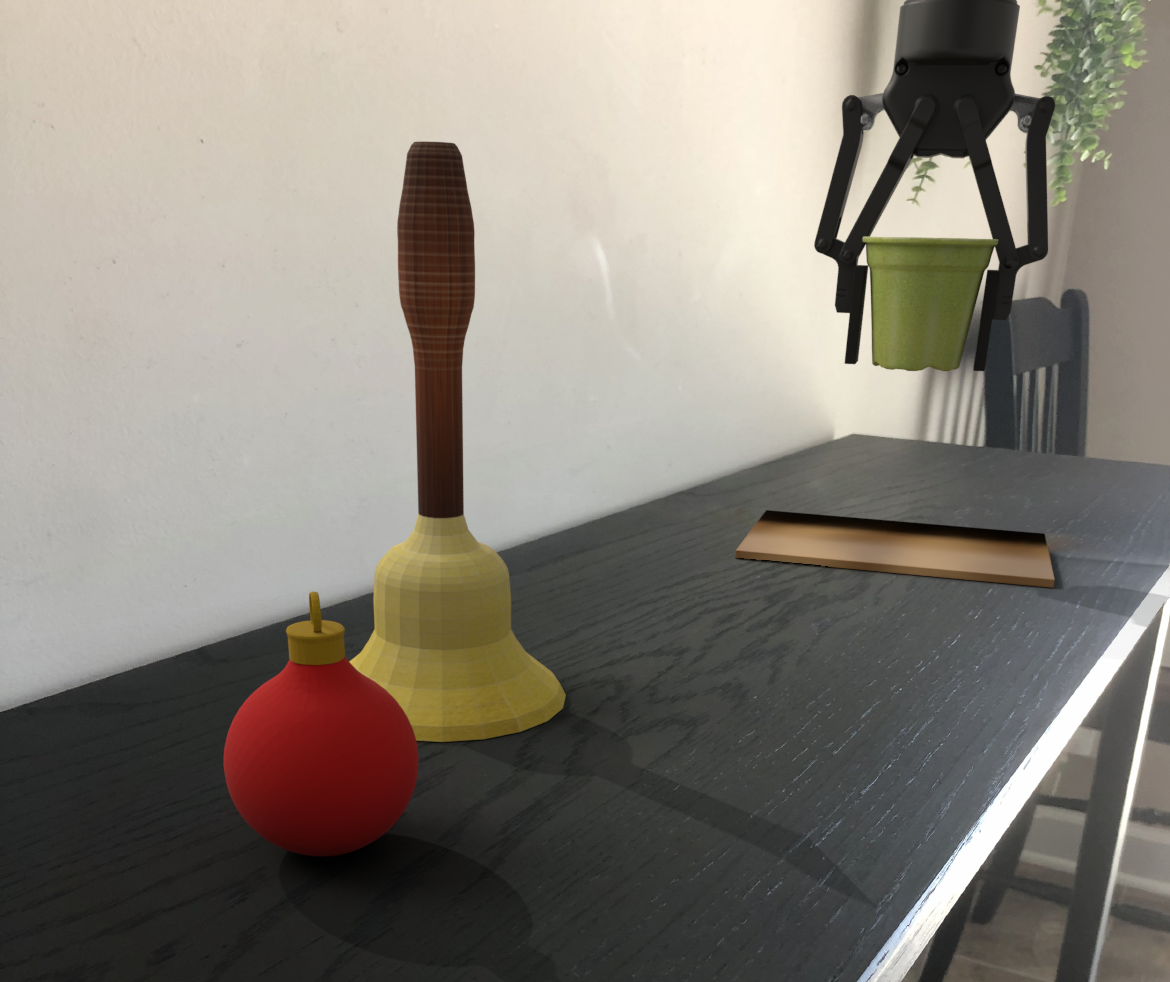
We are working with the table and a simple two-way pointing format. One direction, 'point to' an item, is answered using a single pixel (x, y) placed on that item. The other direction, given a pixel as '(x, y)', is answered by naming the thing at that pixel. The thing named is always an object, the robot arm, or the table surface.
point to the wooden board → (901, 548)
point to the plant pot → (923, 298)
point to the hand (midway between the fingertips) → (914, 365)
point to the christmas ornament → (320, 749)
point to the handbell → (446, 502)
